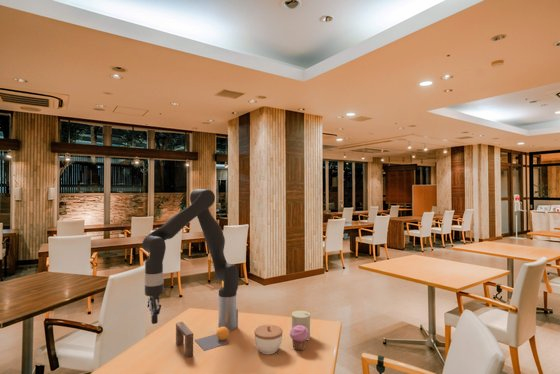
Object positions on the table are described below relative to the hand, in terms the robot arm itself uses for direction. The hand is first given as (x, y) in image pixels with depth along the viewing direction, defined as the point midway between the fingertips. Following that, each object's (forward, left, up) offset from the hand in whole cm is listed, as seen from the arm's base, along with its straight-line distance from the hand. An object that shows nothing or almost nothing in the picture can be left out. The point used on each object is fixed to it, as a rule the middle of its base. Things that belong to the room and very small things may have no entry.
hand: (154, 323), depth 139 cm
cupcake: (-57, +28, -15) cm, 65 cm away
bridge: (-13, 0, -15) cm, 20 cm away
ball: (-31, +1, -12) cm, 33 cm away
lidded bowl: (-44, +22, -15) cm, 51 cm away
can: (-64, +20, -15) cm, 69 cm away
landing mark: (-26, 0, -15) cm, 30 cm away
